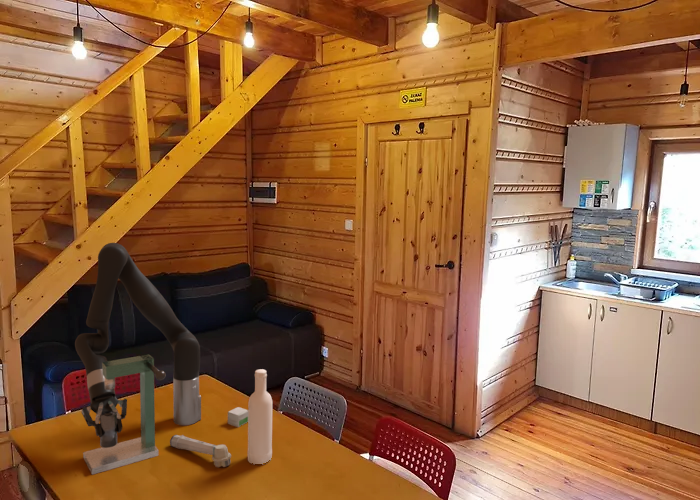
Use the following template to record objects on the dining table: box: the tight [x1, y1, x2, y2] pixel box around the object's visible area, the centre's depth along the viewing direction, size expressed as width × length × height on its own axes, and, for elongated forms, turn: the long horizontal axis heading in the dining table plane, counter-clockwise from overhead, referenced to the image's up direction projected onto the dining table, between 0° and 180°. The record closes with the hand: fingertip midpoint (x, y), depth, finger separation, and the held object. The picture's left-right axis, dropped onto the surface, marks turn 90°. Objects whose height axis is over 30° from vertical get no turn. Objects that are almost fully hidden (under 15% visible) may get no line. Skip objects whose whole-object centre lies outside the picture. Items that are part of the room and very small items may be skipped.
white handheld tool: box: [169, 434, 232, 468], centre depth 169 cm, size 5×7×25 cm
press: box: [82, 354, 167, 475], centre depth 162 cm, size 20×21×32 cm
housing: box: [99, 411, 118, 448], centre depth 165 cm, size 5×5×10 cm
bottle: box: [247, 368, 273, 465], centre depth 167 cm, size 8×8×30 cm
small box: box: [227, 406, 248, 428], centre depth 194 cm, size 6×6×5 cm
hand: (110, 433), depth 164 cm, fingers closed on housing, 5 cm apart
